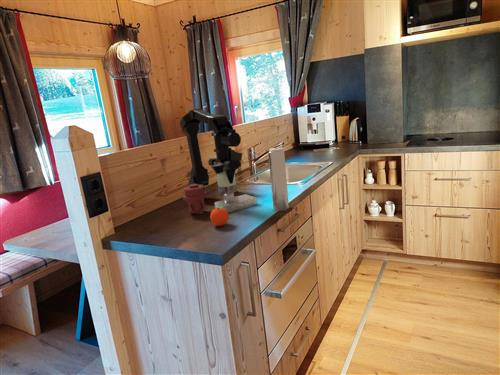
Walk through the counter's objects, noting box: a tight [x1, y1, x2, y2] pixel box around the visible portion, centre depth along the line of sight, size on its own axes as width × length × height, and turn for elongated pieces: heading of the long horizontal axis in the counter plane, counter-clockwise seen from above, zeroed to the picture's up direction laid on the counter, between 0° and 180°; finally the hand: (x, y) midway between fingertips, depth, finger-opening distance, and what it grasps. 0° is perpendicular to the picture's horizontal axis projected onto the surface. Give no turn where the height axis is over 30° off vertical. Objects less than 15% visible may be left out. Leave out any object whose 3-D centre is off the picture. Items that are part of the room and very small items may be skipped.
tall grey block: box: [267, 147, 290, 212], centre depth 146 cm, size 6×6×25 cm
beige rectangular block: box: [214, 192, 258, 213], centre depth 157 cm, size 9×16×6 cm, turn 123°
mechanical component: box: [182, 184, 208, 215], centre depth 154 cm, size 12×10×10 cm
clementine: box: [209, 207, 229, 227], centre depth 136 cm, size 8×7×7 cm
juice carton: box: [213, 155, 238, 195], centre depth 181 cm, size 7×7×22 cm
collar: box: [216, 172, 237, 187], centre depth 154 cm, size 8×8×5 cm
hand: (226, 182), depth 154 cm, fingers closed on collar, 8 cm apart
